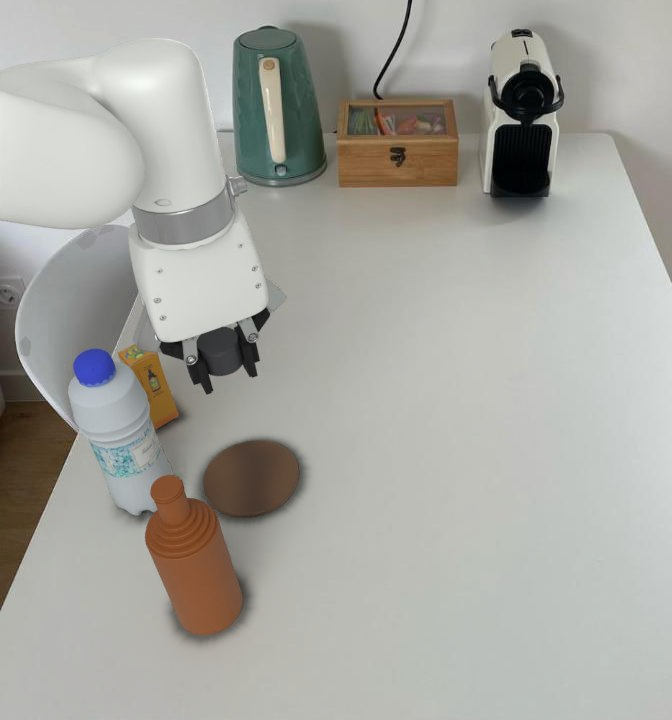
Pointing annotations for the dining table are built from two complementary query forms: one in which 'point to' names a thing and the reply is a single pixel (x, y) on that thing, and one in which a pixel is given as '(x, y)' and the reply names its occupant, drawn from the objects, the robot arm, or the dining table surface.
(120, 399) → the bottle
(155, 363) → the supplement box
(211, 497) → the coaster
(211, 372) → the cap
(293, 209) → the dining table surface
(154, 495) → the sauce bottle
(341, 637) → the dining table surface
